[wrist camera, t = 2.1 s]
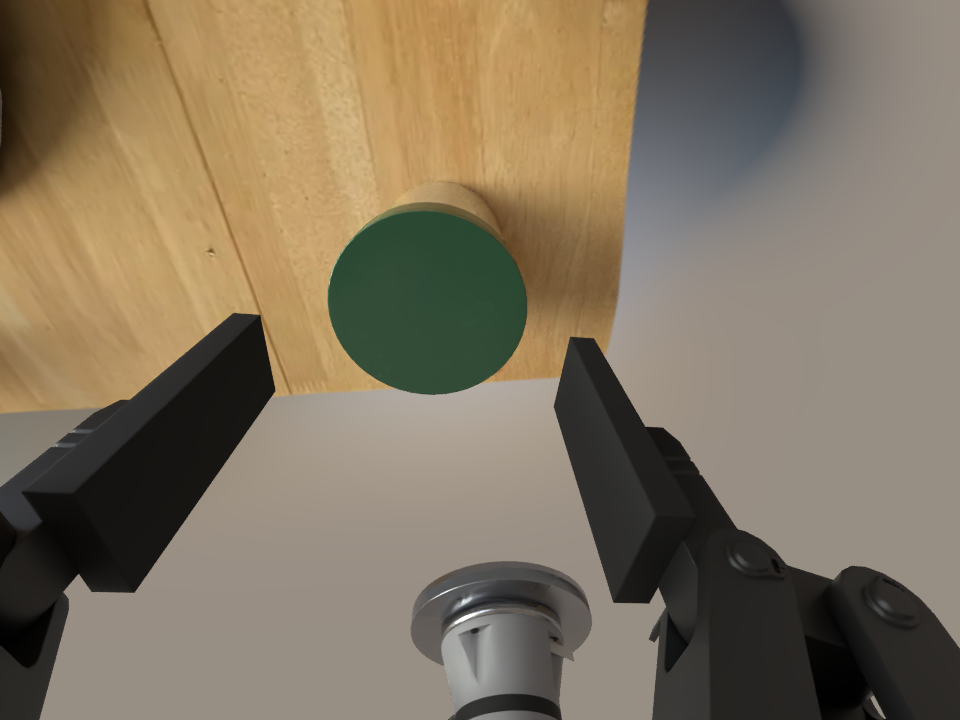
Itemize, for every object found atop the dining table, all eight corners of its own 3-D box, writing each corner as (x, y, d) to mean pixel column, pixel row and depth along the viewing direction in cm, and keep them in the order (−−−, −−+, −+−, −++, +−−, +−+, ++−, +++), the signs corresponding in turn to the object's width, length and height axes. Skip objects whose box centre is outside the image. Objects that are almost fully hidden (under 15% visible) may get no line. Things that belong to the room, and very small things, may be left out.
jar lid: (492, 388, 21) (494, 411, 19) (332, 354, 19) (319, 376, 18) (547, 231, 17) (556, 243, 15) (350, 176, 16) (337, 182, 14)
